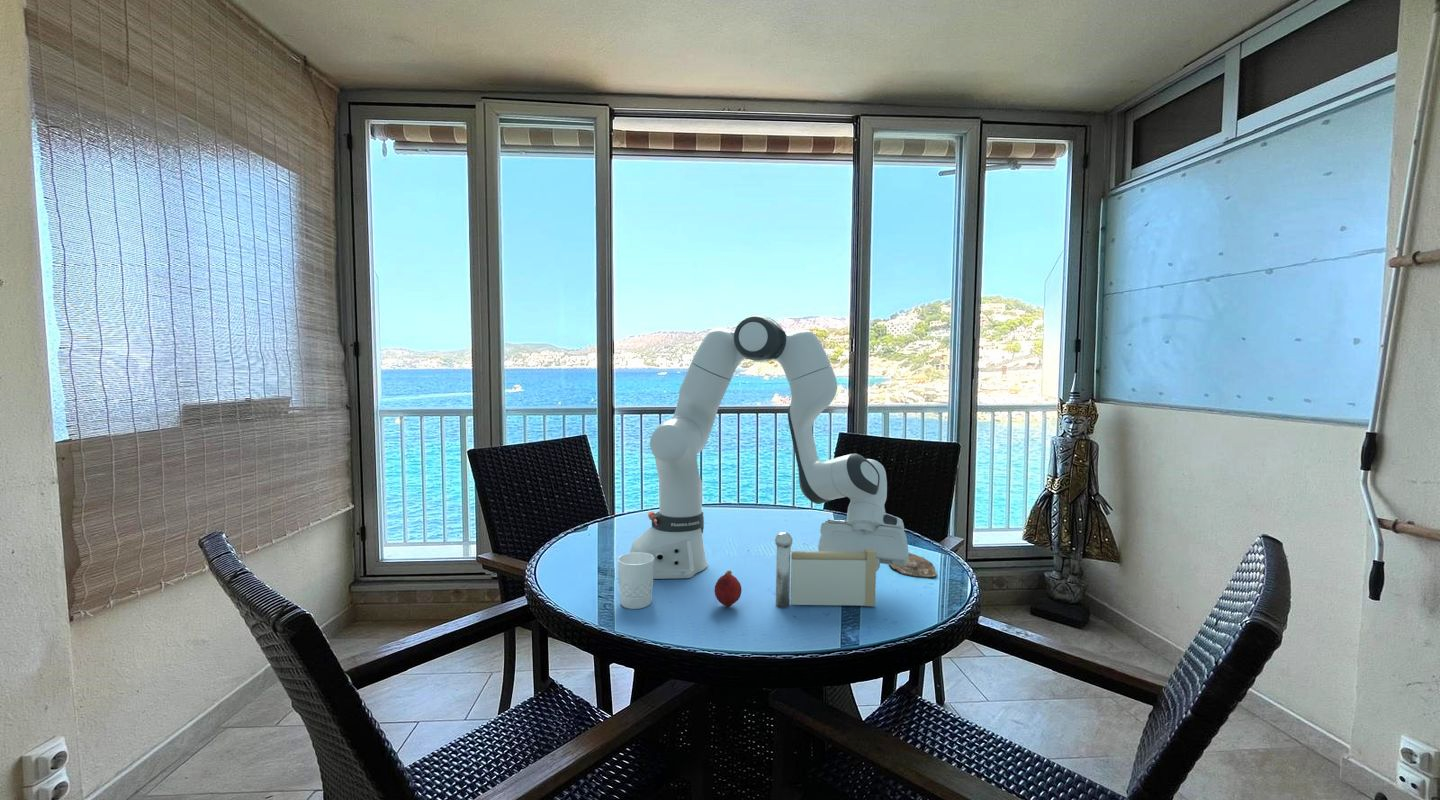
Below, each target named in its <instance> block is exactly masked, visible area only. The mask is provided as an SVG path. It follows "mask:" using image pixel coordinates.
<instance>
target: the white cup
mask: <svg viewBox="0 0 1440 800" xmlns="http://www.w3.org/2000/svg"><path fill="white" fill-rule="evenodd" d="M617 565H618V566H617V570H618V573H617V574H618V587H619V593H620V594H619V595H620V600H619V601H620V606H622V607H623V608H625V609H629V610H639V609H645V608H646V607H648V606H649V605H651V603H652V600H653V598H652V597H653V592H652V591H653V588H654V579H653V573H654V556H653V555H651V554H648V553H642V552H635V553H630V552H629V553H625V554H621V555H620V556H618V558H617Z"/></svg>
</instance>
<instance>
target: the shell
mask: <svg viewBox="0 0 1440 800" xmlns="http://www.w3.org/2000/svg"><path fill="white" fill-rule="evenodd" d="M908 555H909V562H908V564H907V565H906V566H898V565H890V564H888V566H889V568H890V569H891V570H892V571H894V572H896V573H898V574H900V575H903V576H909V577H913V578H920V579H921V578H923V579H933V578H934V577H936V576H937V572H936V568H935V566H934V564H933V562H931V561H929V559H927V558H925V557H924V556H920V555H917V554H915V553H911V552H909V551H908Z"/></svg>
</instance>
